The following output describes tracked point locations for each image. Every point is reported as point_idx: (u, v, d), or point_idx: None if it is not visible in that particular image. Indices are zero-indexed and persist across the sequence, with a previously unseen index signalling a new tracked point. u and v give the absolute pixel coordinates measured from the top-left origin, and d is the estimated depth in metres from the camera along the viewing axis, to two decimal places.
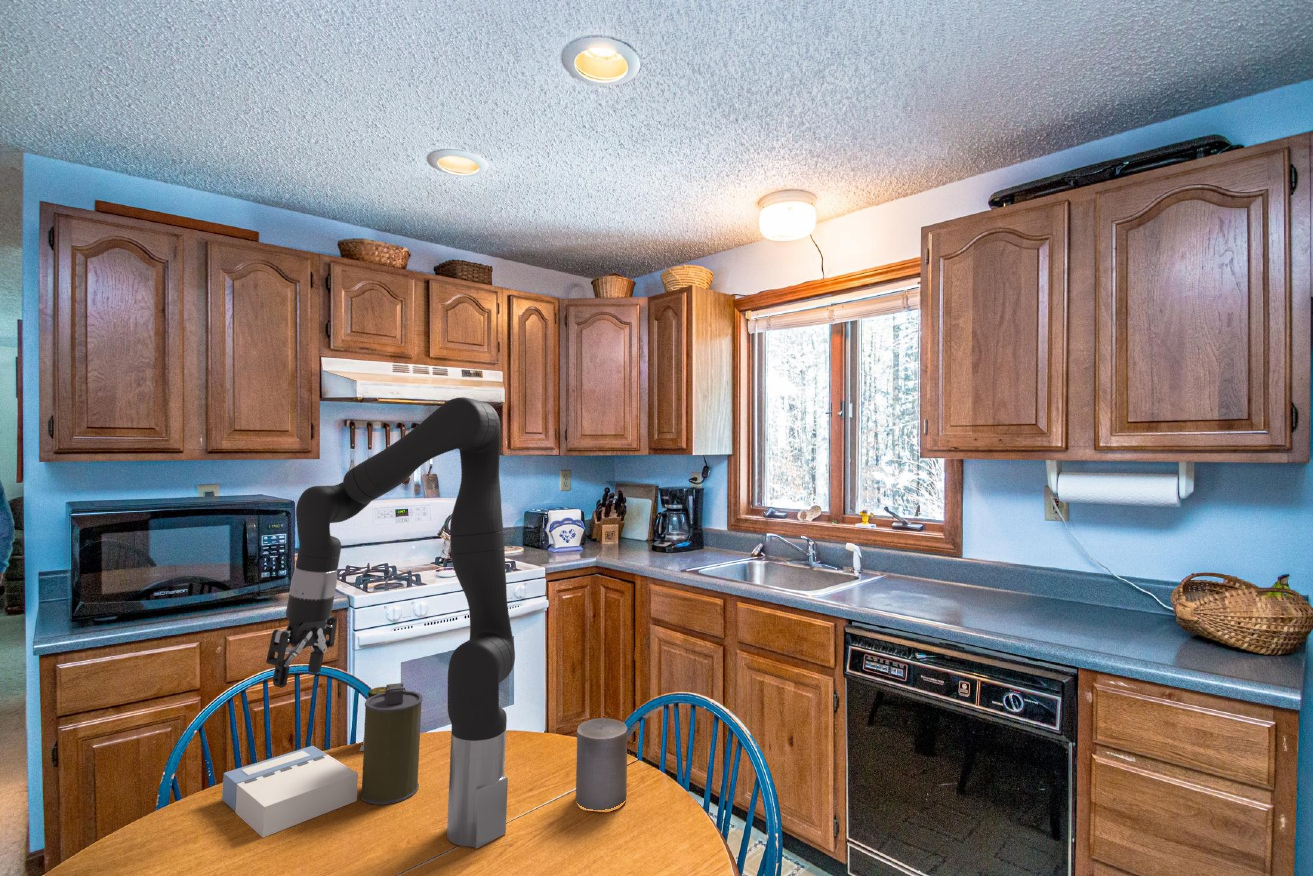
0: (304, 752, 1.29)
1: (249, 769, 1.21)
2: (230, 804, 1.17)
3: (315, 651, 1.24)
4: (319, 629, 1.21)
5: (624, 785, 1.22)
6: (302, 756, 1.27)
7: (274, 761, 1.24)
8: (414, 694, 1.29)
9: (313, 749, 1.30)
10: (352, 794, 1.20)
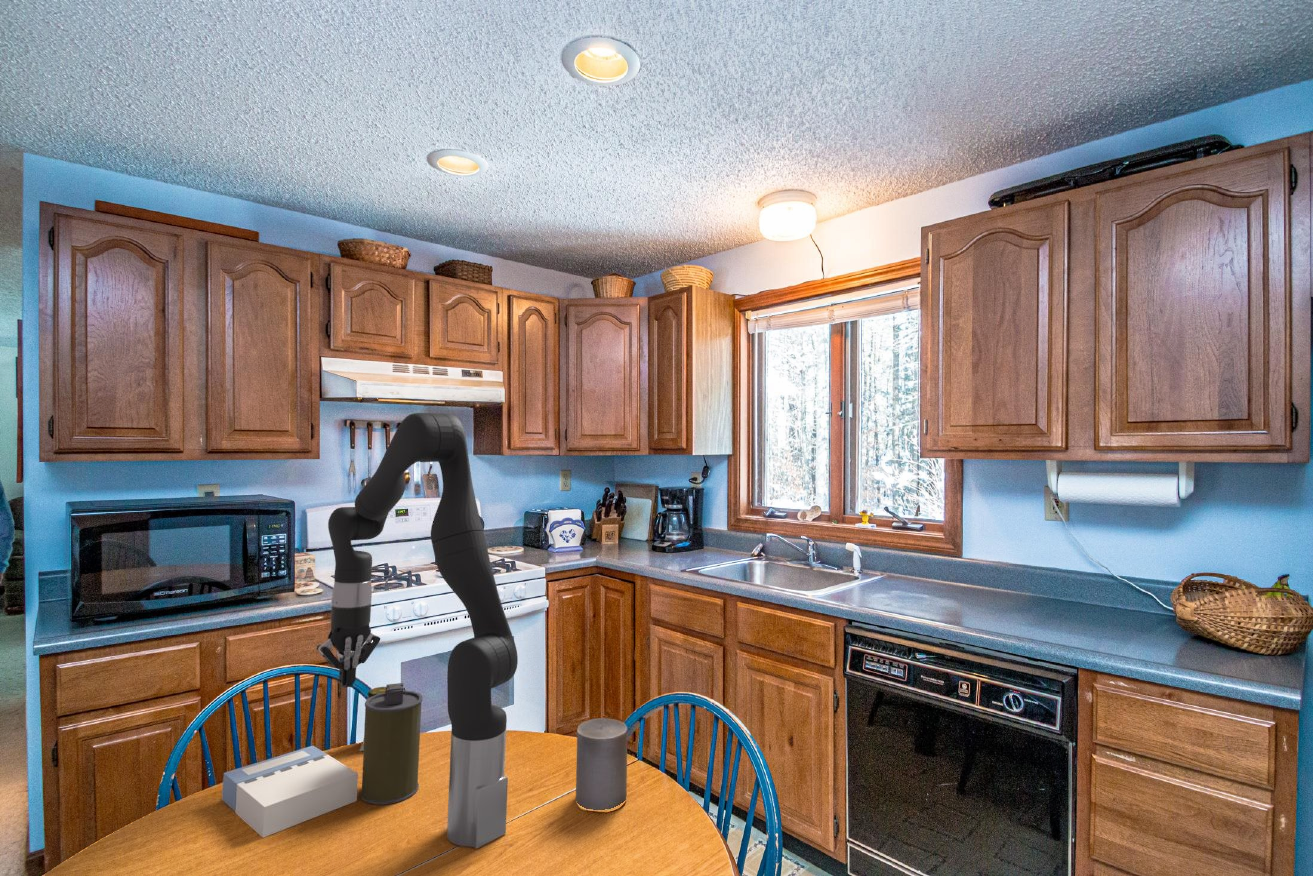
0: (304, 752, 1.29)
1: (249, 769, 1.21)
2: (230, 804, 1.17)
3: None
4: (361, 635, 1.35)
5: (624, 785, 1.22)
6: (302, 756, 1.27)
7: (274, 761, 1.24)
8: (414, 694, 1.29)
9: (313, 749, 1.30)
10: (352, 794, 1.20)
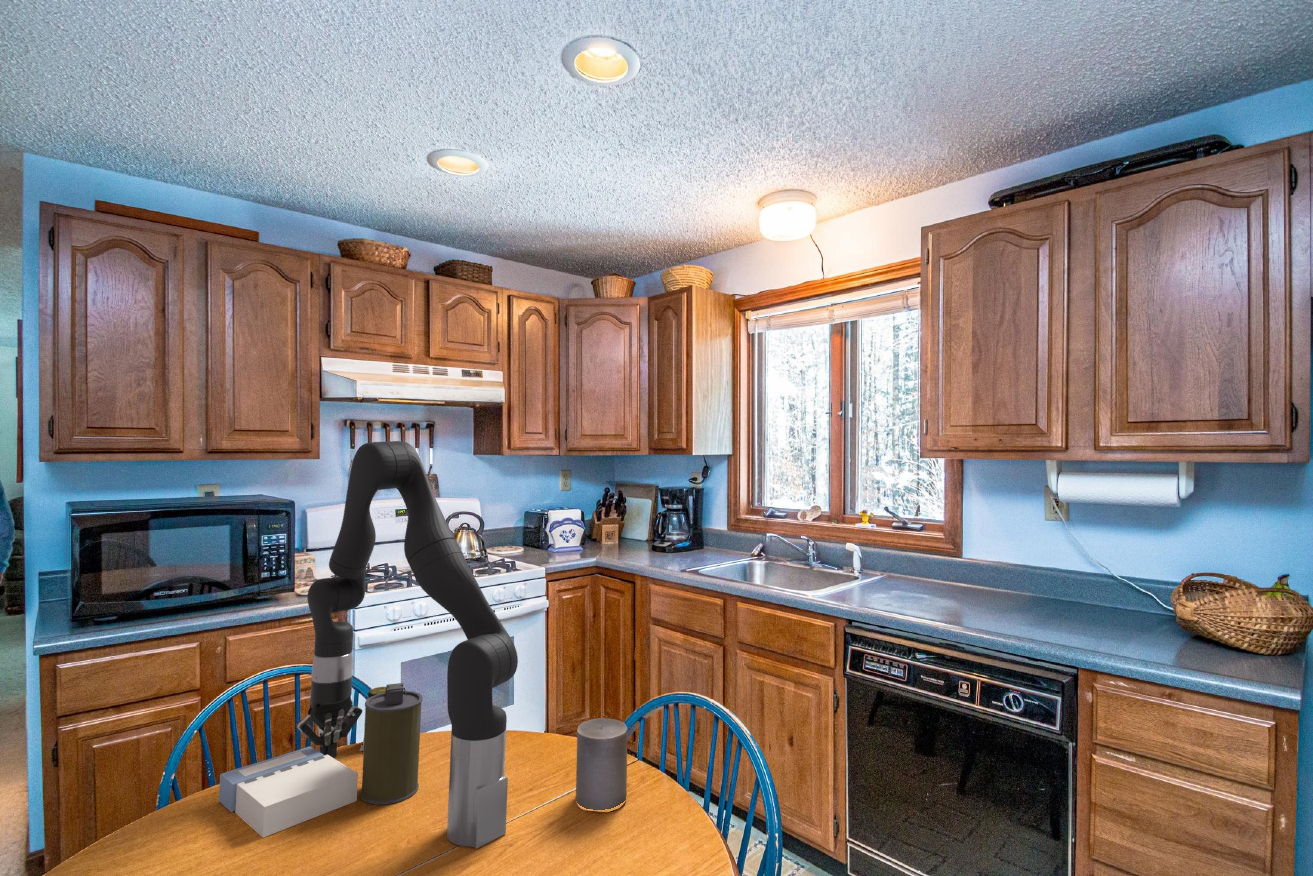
0: (301, 753, 1.28)
1: (246, 770, 1.20)
2: (227, 805, 1.16)
3: None
4: (342, 709, 1.32)
5: (624, 785, 1.22)
6: (299, 757, 1.26)
7: (271, 762, 1.24)
8: (414, 694, 1.29)
9: (310, 750, 1.30)
10: (352, 794, 1.20)
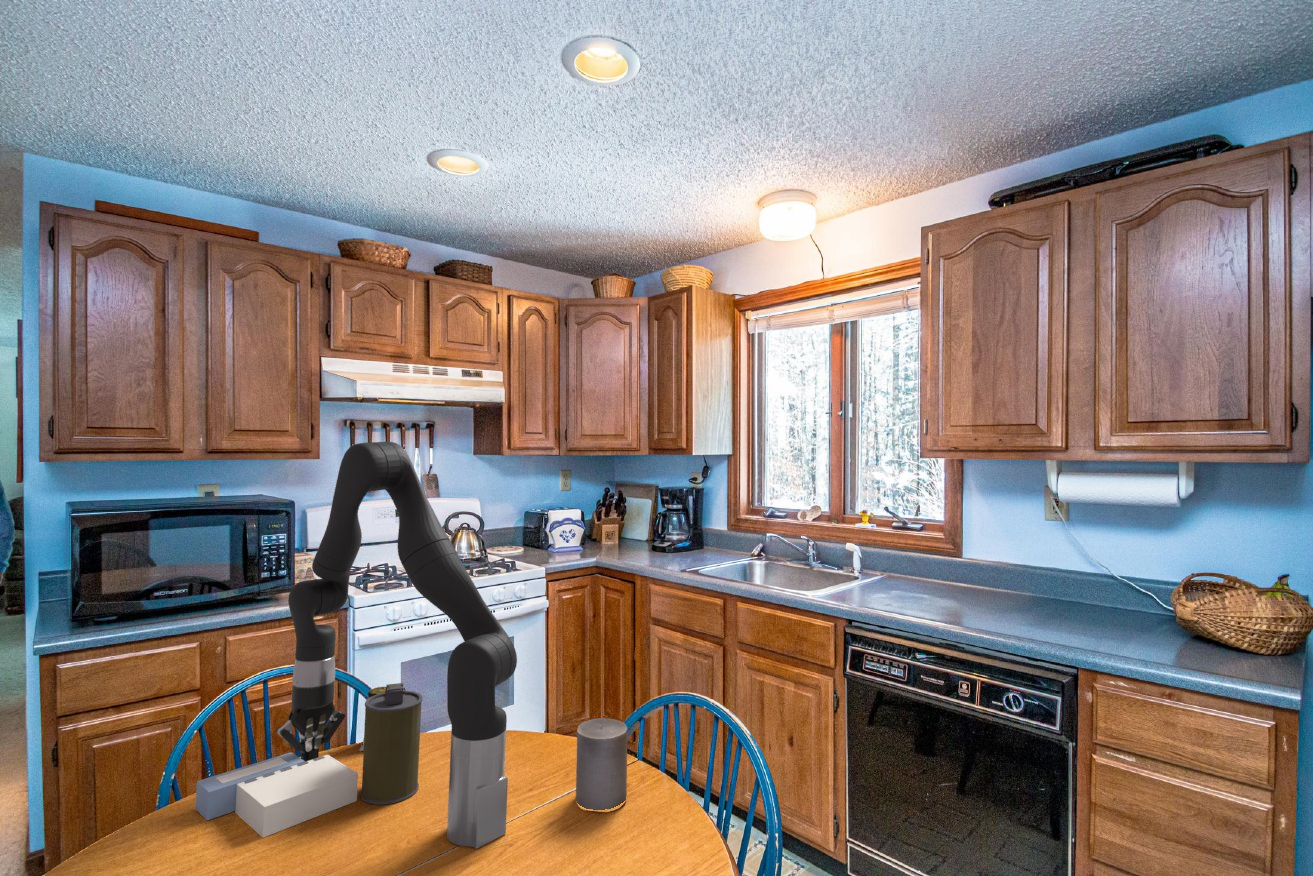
0: (281, 759, 1.25)
1: (223, 777, 1.18)
2: (203, 813, 1.13)
3: None
4: (324, 714, 1.29)
5: (624, 785, 1.22)
6: (279, 763, 1.23)
7: (250, 769, 1.21)
8: (414, 694, 1.29)
9: (291, 756, 1.27)
10: (352, 794, 1.20)
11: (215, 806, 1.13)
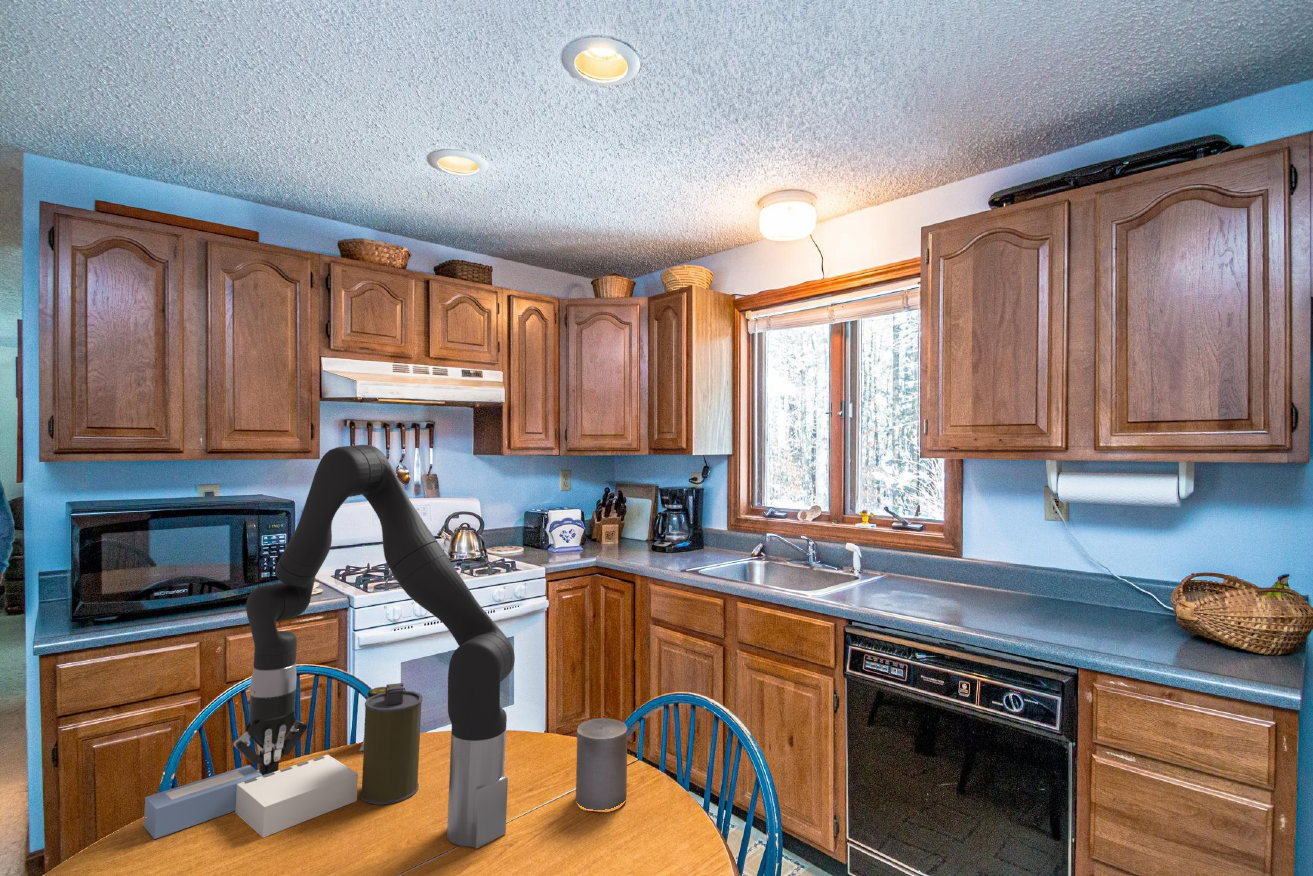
0: (238, 773, 1.19)
1: (174, 792, 1.12)
2: (150, 831, 1.08)
3: None
4: (284, 725, 1.23)
5: (624, 785, 1.22)
6: (235, 777, 1.18)
7: (203, 783, 1.15)
8: (414, 694, 1.29)
9: (249, 769, 1.21)
10: (352, 794, 1.20)
11: (163, 824, 1.07)
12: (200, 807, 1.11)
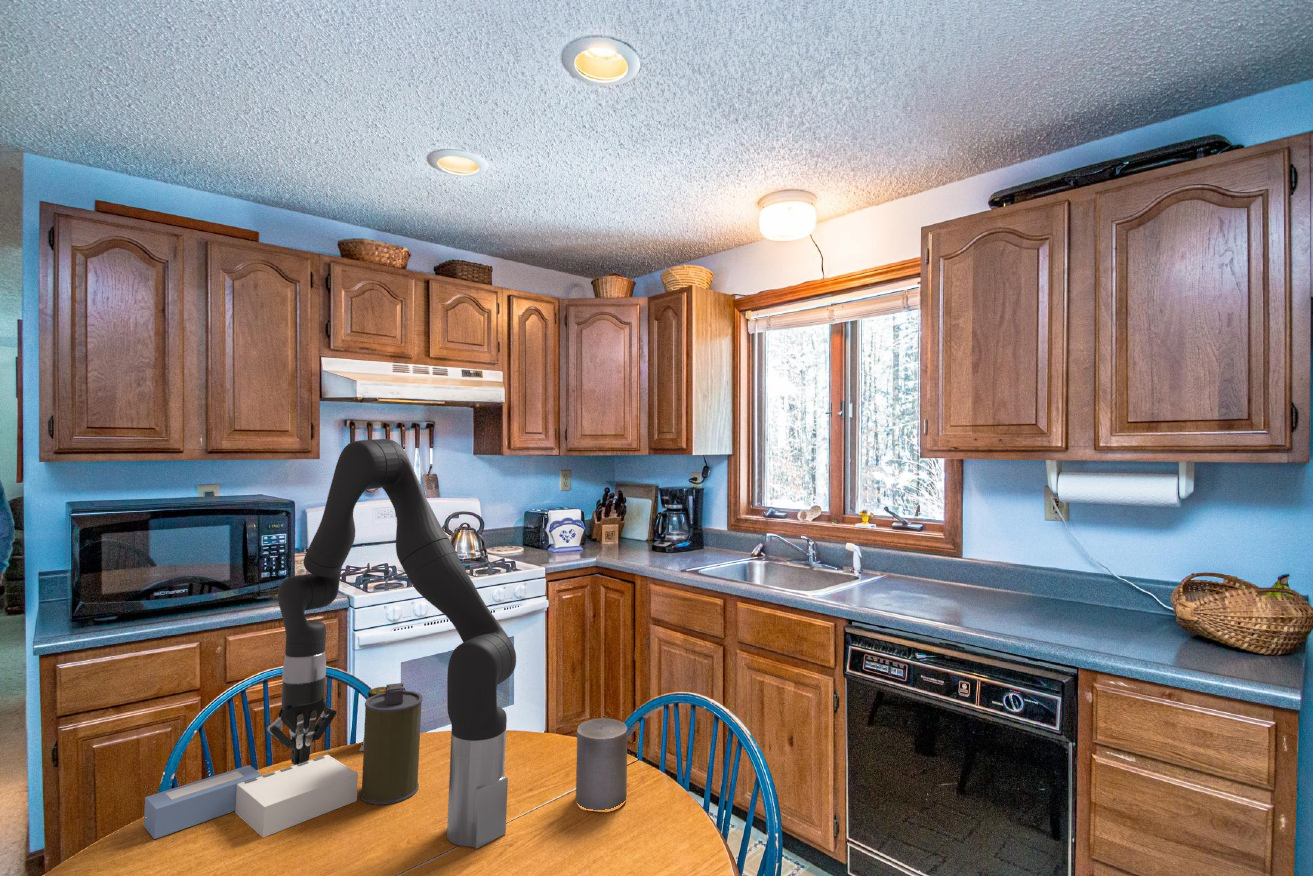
0: (238, 773, 1.19)
1: (174, 792, 1.12)
2: (150, 831, 1.08)
3: None
4: (314, 711, 1.28)
5: (624, 785, 1.22)
6: (235, 777, 1.18)
7: (203, 783, 1.15)
8: (414, 694, 1.29)
9: (249, 769, 1.21)
10: (352, 794, 1.20)
11: (163, 824, 1.07)
12: (200, 807, 1.11)
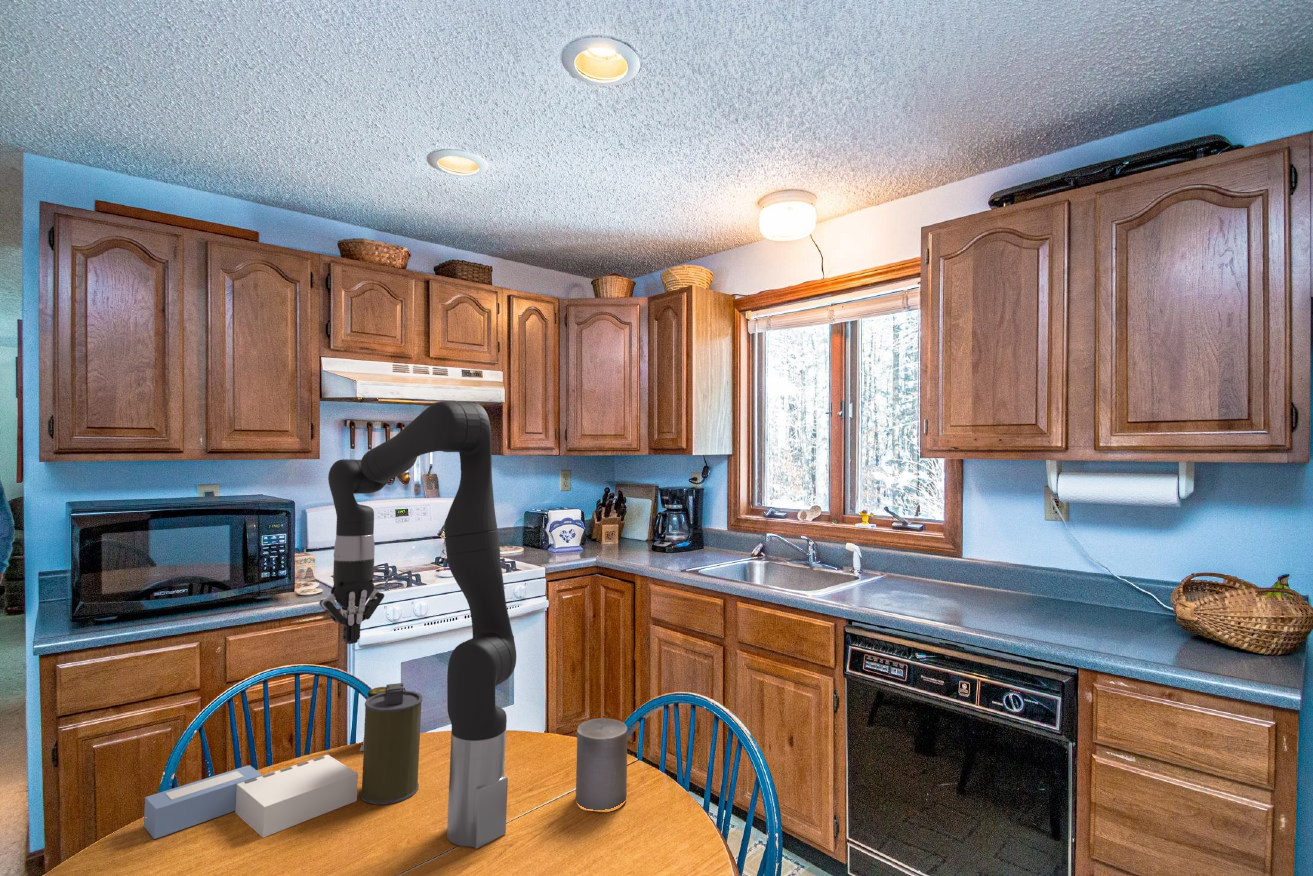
0: (238, 773, 1.19)
1: (174, 792, 1.12)
2: (150, 831, 1.08)
3: None
4: (365, 590, 1.32)
5: (624, 785, 1.22)
6: (235, 777, 1.18)
7: (203, 783, 1.15)
8: (414, 694, 1.29)
9: (249, 769, 1.21)
10: (352, 794, 1.20)
11: (163, 824, 1.07)
12: (200, 807, 1.11)
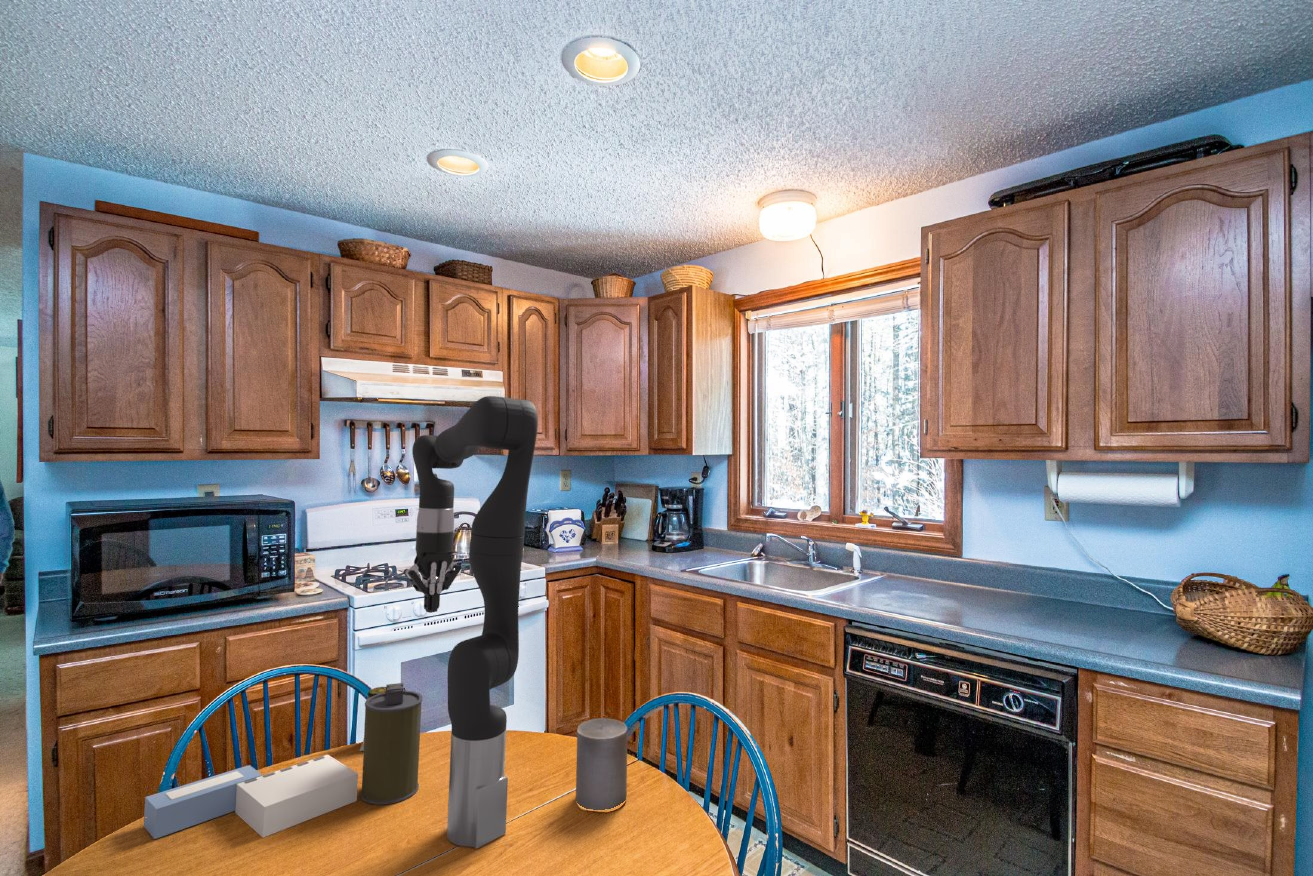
0: (238, 773, 1.19)
1: (174, 792, 1.12)
2: (150, 831, 1.08)
3: None
4: (445, 562, 1.37)
5: (624, 785, 1.22)
6: (235, 777, 1.18)
7: (203, 783, 1.15)
8: (414, 694, 1.29)
9: (249, 769, 1.21)
10: (352, 794, 1.20)
11: (163, 824, 1.07)
12: (200, 807, 1.11)
